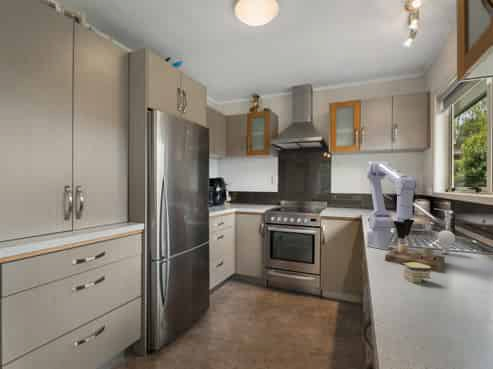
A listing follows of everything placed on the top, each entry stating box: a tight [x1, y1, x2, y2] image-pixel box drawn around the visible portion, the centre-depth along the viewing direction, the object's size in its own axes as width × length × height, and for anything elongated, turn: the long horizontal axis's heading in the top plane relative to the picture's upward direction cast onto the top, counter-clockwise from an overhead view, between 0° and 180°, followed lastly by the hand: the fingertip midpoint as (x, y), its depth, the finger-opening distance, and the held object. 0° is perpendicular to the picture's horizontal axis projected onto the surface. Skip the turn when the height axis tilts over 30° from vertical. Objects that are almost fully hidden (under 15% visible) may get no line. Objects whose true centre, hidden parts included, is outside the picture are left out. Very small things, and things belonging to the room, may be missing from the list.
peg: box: [422, 248, 435, 261], centre depth 101 cm, size 4×4×6 cm
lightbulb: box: [437, 229, 456, 255], centre depth 116 cm, size 6×6×11 cm
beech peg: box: [397, 243, 409, 256], centre depth 107 cm, size 4×4×6 cm
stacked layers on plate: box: [402, 262, 432, 283], centre depth 83 cm, size 10×9×6 cm
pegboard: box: [384, 247, 446, 273], centre depth 104 cm, size 18×16×2 cm
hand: (403, 236), depth 108 cm, fingers open, 7 cm apart
